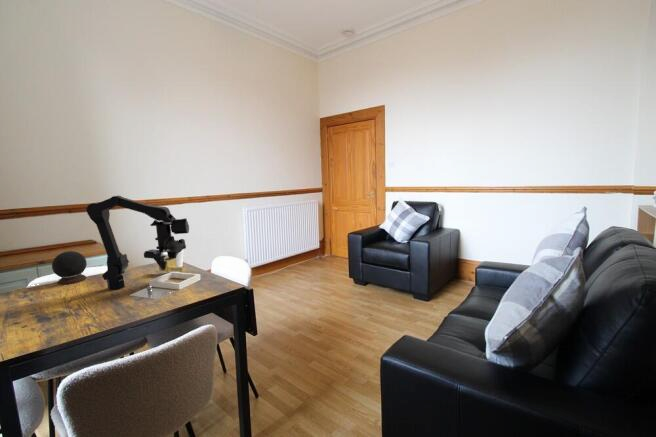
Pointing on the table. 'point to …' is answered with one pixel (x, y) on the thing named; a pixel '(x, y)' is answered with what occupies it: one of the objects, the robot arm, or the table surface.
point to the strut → (172, 265)
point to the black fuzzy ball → (69, 267)
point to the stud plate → (152, 293)
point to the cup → (178, 259)
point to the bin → (171, 285)
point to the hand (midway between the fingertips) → (167, 268)
